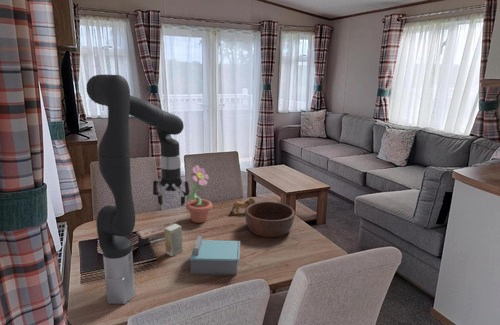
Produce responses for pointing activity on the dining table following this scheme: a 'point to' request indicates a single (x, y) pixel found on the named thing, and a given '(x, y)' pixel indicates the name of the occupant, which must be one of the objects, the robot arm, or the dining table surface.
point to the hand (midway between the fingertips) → (171, 204)
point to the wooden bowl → (269, 218)
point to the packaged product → (153, 233)
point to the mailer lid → (215, 250)
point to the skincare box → (173, 239)
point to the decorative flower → (198, 205)
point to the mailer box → (214, 267)
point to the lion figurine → (243, 204)
